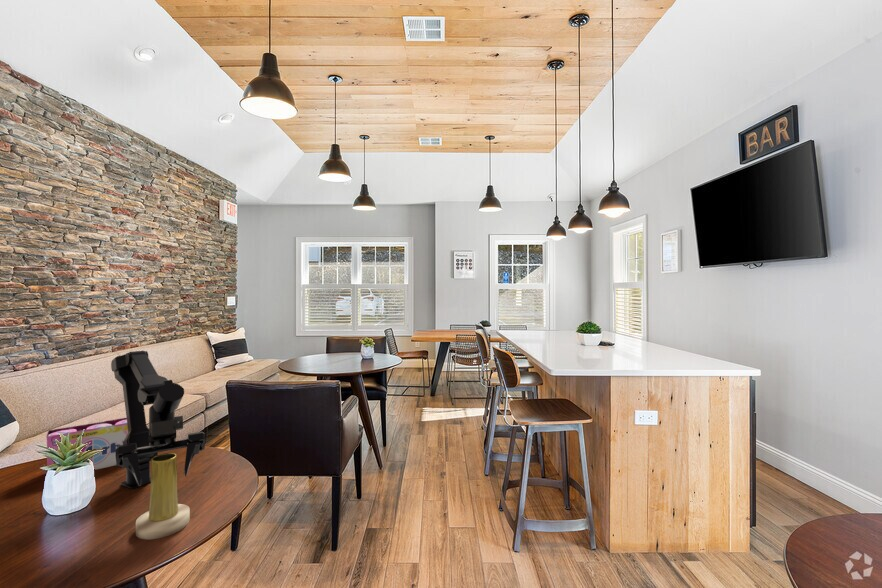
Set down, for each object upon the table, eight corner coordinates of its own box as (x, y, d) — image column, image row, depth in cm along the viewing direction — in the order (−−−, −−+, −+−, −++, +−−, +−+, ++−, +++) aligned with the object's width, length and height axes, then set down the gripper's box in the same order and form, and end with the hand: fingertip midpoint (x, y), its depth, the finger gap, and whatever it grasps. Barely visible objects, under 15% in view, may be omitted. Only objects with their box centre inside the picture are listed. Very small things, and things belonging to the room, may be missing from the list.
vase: (157, 508, 105) (158, 452, 104) (183, 507, 105) (183, 451, 105) (142, 522, 98) (143, 462, 98) (170, 521, 99) (170, 461, 99)
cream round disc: (125, 533, 99) (125, 520, 99) (173, 511, 109) (173, 500, 109) (152, 546, 94) (152, 532, 94) (199, 522, 104) (199, 510, 104)
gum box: (140, 453, 148) (140, 415, 148) (142, 460, 142) (142, 420, 142) (47, 472, 132) (47, 429, 132) (46, 481, 126) (46, 436, 126)
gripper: (115, 412, 100) (112, 475, 91) (204, 401, 110) (209, 455, 101) (118, 436, 106) (115, 496, 97) (202, 422, 117) (206, 476, 108)
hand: (163, 480), depth 101 cm, fingers open, 9 cm apart
